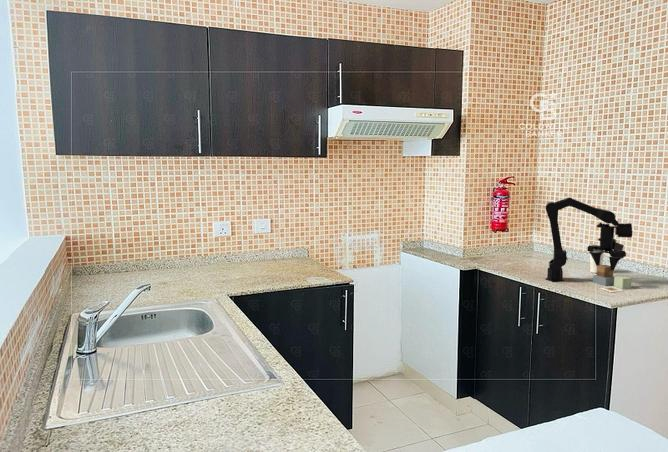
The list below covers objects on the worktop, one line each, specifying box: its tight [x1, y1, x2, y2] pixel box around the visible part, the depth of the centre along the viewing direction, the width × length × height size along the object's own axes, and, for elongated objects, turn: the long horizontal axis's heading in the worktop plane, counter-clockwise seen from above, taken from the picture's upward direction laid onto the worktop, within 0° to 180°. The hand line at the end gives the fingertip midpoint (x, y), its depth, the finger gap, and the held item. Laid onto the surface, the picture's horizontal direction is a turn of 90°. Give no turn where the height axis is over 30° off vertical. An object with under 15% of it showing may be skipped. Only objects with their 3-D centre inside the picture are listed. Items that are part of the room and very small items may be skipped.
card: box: [599, 286, 625, 293], centre depth 232 cm, size 7×7×1 cm
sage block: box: [613, 275, 633, 290], centre depth 235 cm, size 5×5×5 cm
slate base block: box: [592, 274, 615, 287], centre depth 244 cm, size 7×7×4 cm
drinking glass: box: [589, 243, 605, 274], centre depth 267 cm, size 7×7×15 cm
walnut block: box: [596, 264, 614, 278], centre depth 243 cm, size 5×5×5 cm
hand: (605, 268), depth 243 cm, fingers open, 9 cm apart
